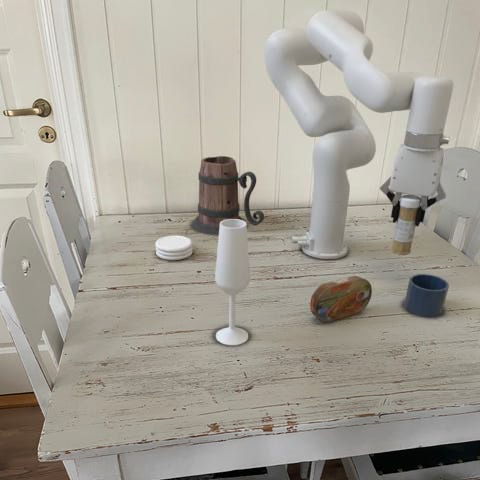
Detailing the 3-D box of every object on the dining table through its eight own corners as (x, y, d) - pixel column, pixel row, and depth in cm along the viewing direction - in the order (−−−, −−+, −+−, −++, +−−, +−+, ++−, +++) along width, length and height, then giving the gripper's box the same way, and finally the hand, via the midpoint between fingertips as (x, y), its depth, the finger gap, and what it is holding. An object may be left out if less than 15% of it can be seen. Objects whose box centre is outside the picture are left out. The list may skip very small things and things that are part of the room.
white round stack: (149, 257, 132) (148, 245, 130) (167, 244, 140) (166, 232, 138) (182, 263, 129) (181, 251, 127) (198, 249, 137) (198, 238, 135)
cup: (412, 317, 107) (418, 291, 103) (398, 299, 114) (404, 274, 110) (448, 316, 107) (455, 290, 104) (432, 298, 114) (438, 273, 111)
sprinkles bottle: (401, 247, 120) (411, 193, 113) (414, 254, 116) (426, 198, 109) (386, 250, 118) (396, 195, 111) (399, 257, 115) (410, 201, 108)
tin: (314, 326, 103) (318, 291, 99) (306, 319, 105) (309, 284, 101) (369, 310, 109) (375, 276, 105) (360, 304, 112) (366, 271, 107)
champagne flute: (237, 348, 96) (239, 233, 83) (209, 338, 99) (206, 225, 86) (254, 333, 100) (258, 221, 88) (227, 323, 103) (227, 214, 91)
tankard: (181, 228, 150) (178, 162, 140) (208, 212, 163) (207, 150, 153) (250, 242, 142) (252, 173, 131) (273, 224, 154) (276, 160, 144)
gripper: (466, 141, 104) (446, 223, 113) (386, 134, 110) (373, 212, 119) (463, 148, 98) (442, 234, 107) (379, 140, 104) (366, 222, 114)
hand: (406, 222), depth 113 cm, fingers closed on sprinkles bottle, 4 cm apart
